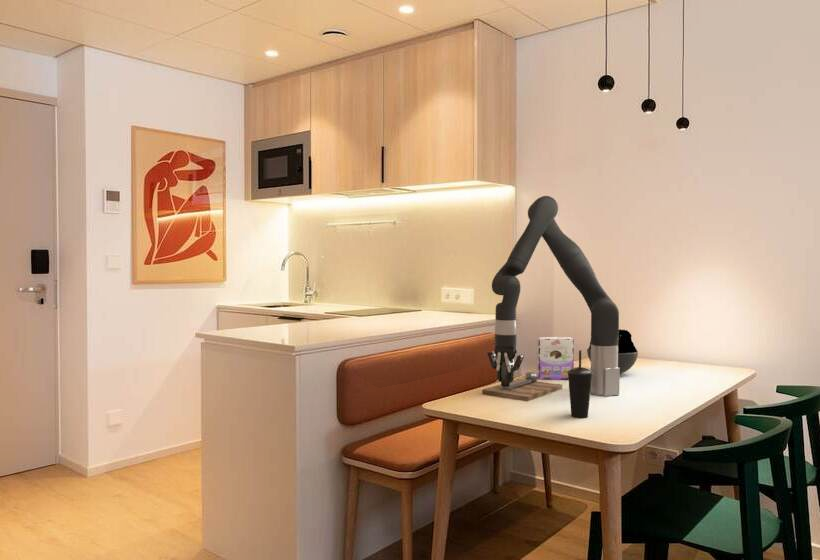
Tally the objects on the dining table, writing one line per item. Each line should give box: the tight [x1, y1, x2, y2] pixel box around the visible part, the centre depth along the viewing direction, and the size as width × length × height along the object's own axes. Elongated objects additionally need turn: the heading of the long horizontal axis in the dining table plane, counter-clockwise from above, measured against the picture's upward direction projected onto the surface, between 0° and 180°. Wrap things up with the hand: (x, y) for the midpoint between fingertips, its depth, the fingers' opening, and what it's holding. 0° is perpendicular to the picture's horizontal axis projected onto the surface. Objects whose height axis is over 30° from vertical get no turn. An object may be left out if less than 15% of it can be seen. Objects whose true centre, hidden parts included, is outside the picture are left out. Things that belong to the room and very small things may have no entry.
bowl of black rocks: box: [586, 328, 639, 375], centre depth 263 cm, size 20×20×19 cm
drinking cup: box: [567, 350, 593, 419], centre depth 194 cm, size 8×8×20 cm
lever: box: [500, 361, 538, 390], centre depth 231 cm, size 22×4×10 cm, turn 141°
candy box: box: [536, 336, 575, 381], centre depth 254 cm, size 14×6×16 cm, turn 84°
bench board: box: [481, 378, 563, 402], centre depth 230 cm, size 26×18×2 cm
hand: (505, 381), depth 224 cm, fingers closed on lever, 3 cm apart
